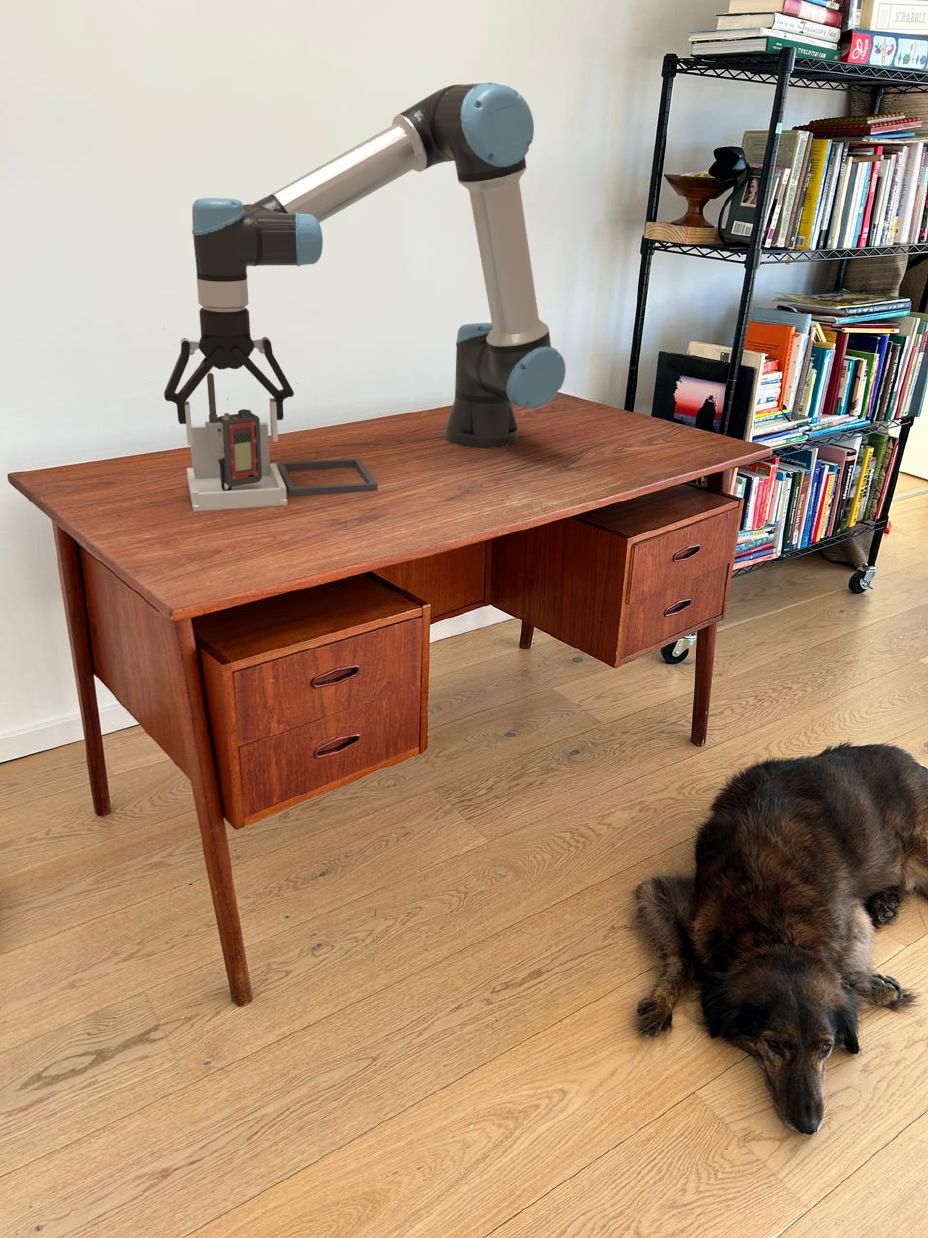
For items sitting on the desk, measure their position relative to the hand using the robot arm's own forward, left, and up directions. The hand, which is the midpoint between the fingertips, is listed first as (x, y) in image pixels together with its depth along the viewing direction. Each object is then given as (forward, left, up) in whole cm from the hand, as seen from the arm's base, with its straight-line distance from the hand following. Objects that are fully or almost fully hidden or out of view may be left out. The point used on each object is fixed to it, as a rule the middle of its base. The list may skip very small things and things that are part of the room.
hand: (232, 441), depth 159 cm
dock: (0, 0, -9) cm, 9 cm away
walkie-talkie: (0, 0, -8) cm, 8 cm away
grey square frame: (-16, -4, -9) cm, 19 cm away
